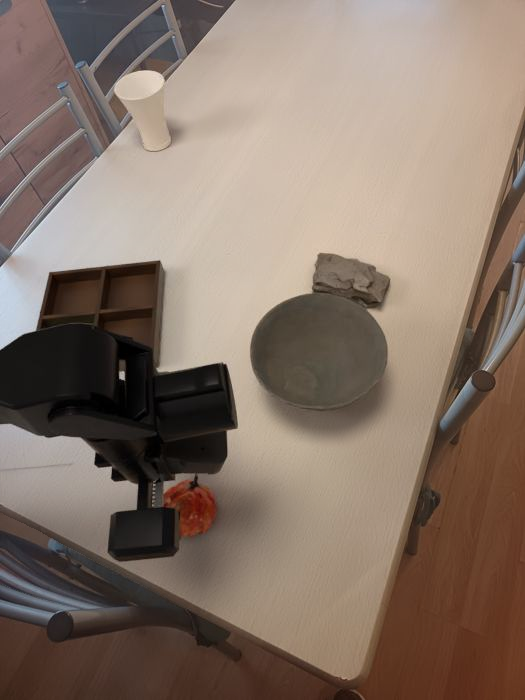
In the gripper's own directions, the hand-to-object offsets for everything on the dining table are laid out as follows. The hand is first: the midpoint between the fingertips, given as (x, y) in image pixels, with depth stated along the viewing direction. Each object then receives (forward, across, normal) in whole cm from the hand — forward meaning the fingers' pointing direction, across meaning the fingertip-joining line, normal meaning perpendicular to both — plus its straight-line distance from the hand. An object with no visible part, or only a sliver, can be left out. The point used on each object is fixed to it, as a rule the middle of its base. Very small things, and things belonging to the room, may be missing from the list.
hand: (169, 483), depth 57 cm
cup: (+13, +84, +8) cm, 85 cm away
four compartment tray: (+13, +34, +16) cm, 40 cm away
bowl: (+13, +18, -19) cm, 29 cm away
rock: (+13, +36, -27) cm, 47 cm away
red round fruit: (+13, -1, 0) cm, 13 cm away
